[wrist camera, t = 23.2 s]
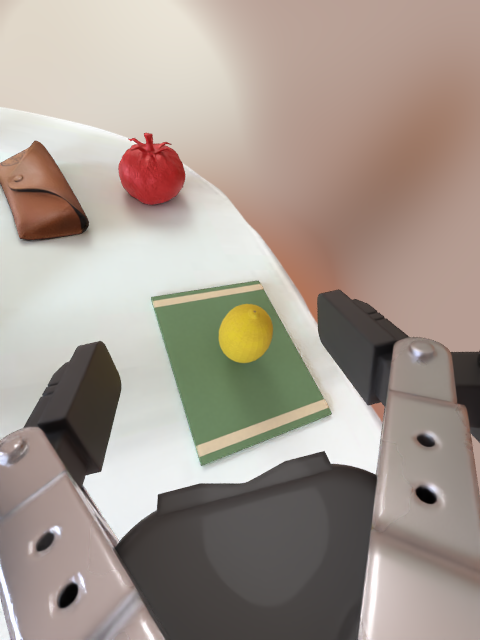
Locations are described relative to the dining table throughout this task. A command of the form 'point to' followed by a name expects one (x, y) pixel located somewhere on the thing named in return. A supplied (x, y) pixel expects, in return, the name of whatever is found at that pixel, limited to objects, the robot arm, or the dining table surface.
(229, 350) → the lemon
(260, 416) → the cloth
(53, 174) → the sunglasses case
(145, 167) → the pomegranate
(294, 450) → the dining table surface
